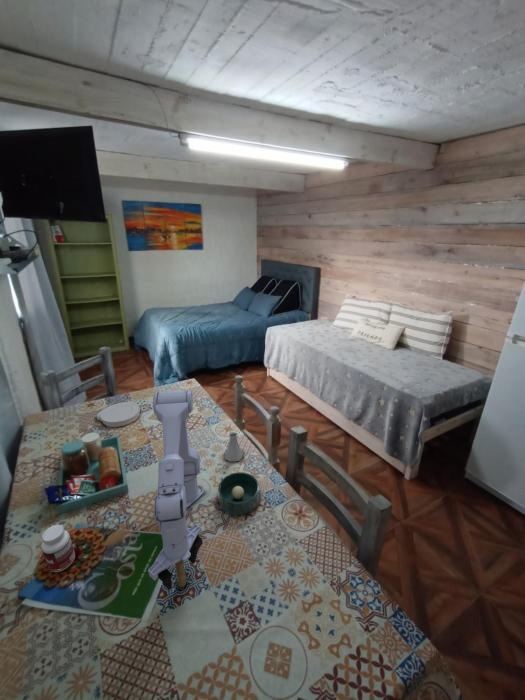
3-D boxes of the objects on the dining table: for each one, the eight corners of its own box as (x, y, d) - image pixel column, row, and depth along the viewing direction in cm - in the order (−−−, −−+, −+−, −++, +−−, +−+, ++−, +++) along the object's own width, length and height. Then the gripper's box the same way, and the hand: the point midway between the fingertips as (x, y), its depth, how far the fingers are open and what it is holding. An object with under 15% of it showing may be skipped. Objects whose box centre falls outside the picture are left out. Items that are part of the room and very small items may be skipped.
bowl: (210, 502, 103) (209, 490, 101) (236, 478, 113) (236, 466, 111) (242, 523, 96) (241, 510, 94) (266, 495, 106) (266, 483, 104)
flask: (240, 463, 120) (239, 441, 116) (222, 460, 121) (221, 439, 118) (245, 451, 127) (244, 430, 123) (227, 448, 128) (226, 428, 124)
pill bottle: (45, 563, 84) (34, 533, 80) (70, 546, 89) (61, 517, 85) (53, 578, 81) (43, 548, 76) (79, 560, 85) (70, 531, 81)
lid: (109, 405, 158) (108, 400, 157) (147, 408, 156) (146, 403, 155) (87, 425, 142) (86, 419, 141) (128, 429, 140) (127, 423, 139)
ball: (230, 486, 105) (228, 495, 102) (240, 481, 105) (238, 490, 101) (236, 494, 106) (235, 503, 102) (246, 490, 105) (245, 499, 102)
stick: (176, 584, 79) (173, 562, 76) (182, 577, 81) (179, 556, 78) (181, 589, 78) (178, 567, 75) (187, 582, 80) (185, 560, 77)
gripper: (159, 570, 66) (166, 610, 71) (209, 520, 77) (212, 559, 82) (139, 551, 70) (147, 590, 75) (189, 506, 81) (193, 544, 86)
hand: (180, 573), depth 79 cm, fingers open, 7 cm apart
